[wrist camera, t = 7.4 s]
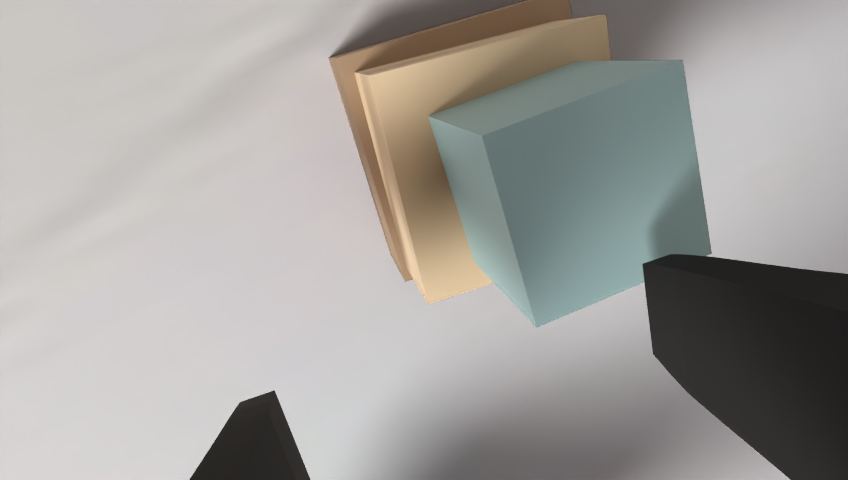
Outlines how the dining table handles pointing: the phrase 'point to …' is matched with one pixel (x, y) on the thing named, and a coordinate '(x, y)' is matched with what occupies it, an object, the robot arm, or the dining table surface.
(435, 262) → the tower top
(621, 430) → the dining table surface
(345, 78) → the tower base
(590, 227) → the teal cube
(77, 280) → the dining table surface
